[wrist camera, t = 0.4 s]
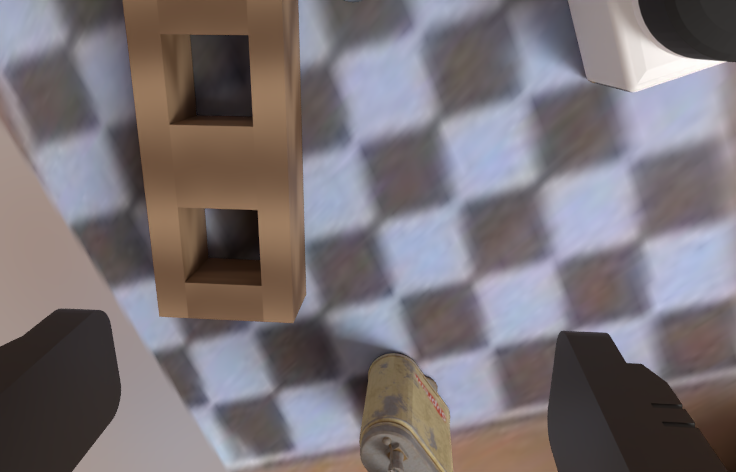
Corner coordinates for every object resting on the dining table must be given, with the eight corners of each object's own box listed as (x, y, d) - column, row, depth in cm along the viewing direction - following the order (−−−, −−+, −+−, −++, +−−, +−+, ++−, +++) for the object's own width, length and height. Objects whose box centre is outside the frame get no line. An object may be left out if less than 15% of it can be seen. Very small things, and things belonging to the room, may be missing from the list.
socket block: (155, -9, 32) (120, -15, 29) (298, -8, 32) (281, -15, 28) (185, 289, 38) (159, 316, 34) (306, 294, 38) (293, 323, 34)
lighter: (358, 367, 39) (338, 472, 30) (405, 340, 38) (401, 440, 29) (416, 443, 41) (415, 566, 31) (463, 419, 40) (477, 539, 30)
